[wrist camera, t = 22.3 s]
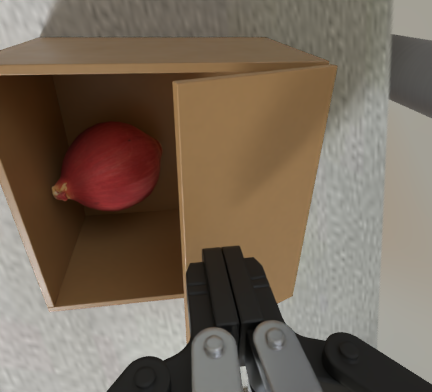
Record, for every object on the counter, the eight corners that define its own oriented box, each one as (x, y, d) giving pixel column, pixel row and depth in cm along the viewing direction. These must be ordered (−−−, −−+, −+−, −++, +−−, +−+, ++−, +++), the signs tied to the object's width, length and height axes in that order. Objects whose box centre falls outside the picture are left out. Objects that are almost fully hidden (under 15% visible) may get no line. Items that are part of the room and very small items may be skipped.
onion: (162, 188, 26) (69, 240, 22) (126, 124, 26) (22, 165, 21) (198, 171, 22) (88, 233, 17) (155, 92, 21) (29, 136, 16)
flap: (330, 64, 14) (338, 65, 13) (288, 291, 21) (292, 296, 20) (171, 80, 10) (176, 83, 10) (186, 342, 18) (189, 348, 17)
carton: (266, 37, 22) (329, 61, 14) (251, 205, 30) (288, 286, 21) (38, 37, 20) (-46, 65, 12) (82, 217, 28) (49, 312, 19)
